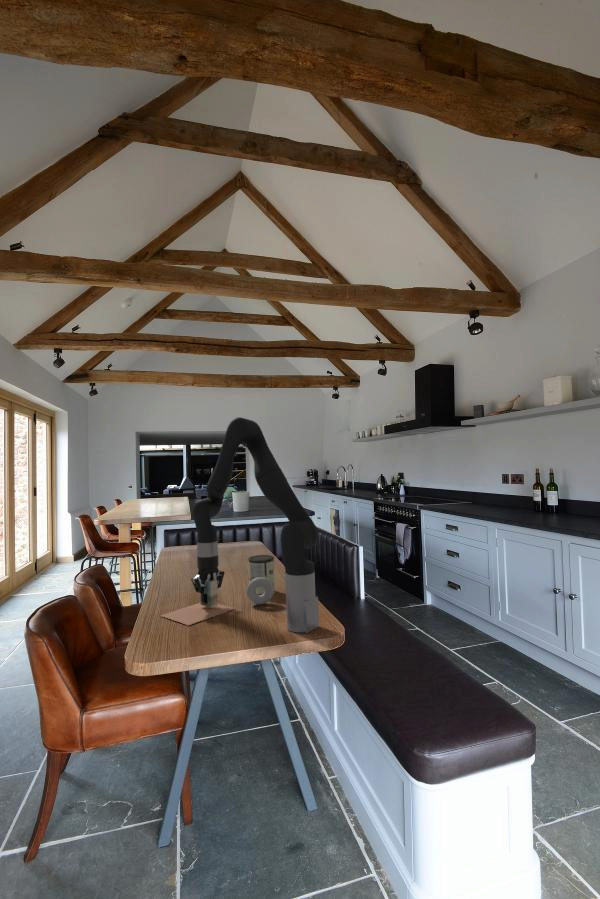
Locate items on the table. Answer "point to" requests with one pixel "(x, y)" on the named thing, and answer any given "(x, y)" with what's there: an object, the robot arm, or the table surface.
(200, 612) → the mat
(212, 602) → the beige rectangular block
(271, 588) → the donut
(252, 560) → the coffee can
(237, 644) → the table surface
